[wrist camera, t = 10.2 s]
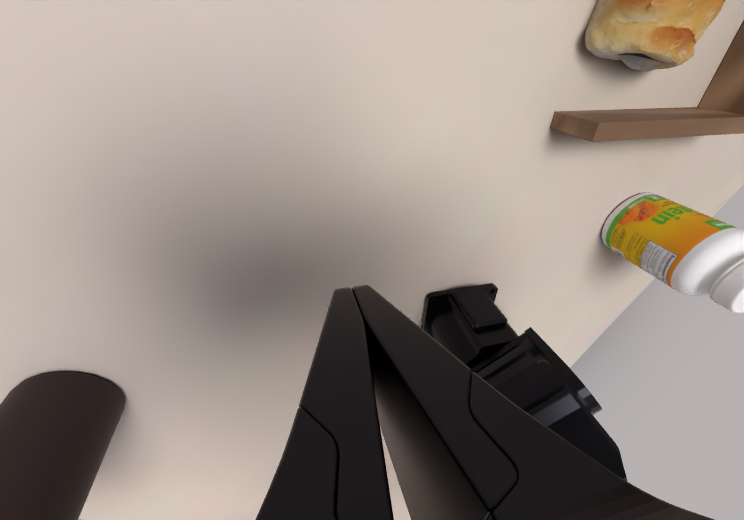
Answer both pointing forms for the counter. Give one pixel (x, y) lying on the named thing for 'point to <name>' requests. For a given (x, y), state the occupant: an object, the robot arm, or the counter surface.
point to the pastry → (649, 30)
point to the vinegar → (54, 443)
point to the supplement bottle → (680, 247)
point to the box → (671, 110)
